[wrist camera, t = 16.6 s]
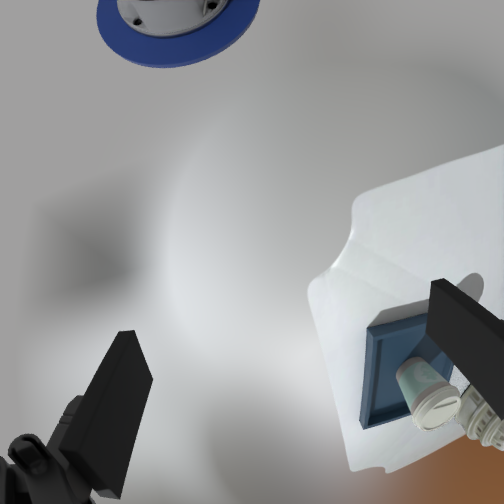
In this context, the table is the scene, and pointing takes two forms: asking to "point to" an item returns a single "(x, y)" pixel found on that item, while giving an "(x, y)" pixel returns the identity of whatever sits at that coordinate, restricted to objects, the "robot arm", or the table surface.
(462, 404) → the dome
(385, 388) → the tray
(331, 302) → the table surface
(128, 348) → the robot arm
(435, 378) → the coffee cup
